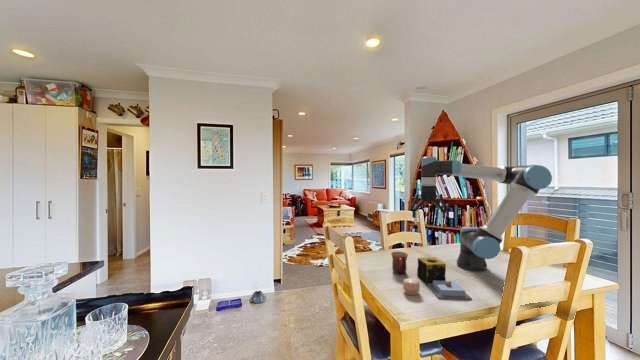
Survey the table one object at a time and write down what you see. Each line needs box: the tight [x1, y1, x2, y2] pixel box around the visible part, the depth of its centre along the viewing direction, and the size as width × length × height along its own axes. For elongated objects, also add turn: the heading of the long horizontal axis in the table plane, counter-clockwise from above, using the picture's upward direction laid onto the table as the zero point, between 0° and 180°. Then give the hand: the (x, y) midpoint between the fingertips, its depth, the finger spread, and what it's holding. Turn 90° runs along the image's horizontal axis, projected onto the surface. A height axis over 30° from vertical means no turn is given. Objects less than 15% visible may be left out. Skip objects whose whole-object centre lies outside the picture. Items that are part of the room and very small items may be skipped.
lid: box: [433, 280, 466, 296], centre depth 115 cm, size 10×10×4 cm
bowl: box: [402, 277, 421, 296], centre depth 114 cm, size 7×7×5 cm
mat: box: [426, 283, 473, 301], centre depth 115 cm, size 14×14×1 cm
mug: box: [390, 251, 409, 275], centre depth 136 cm, size 12×9×10 cm
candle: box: [416, 257, 447, 285], centre depth 128 cm, size 10×10×10 cm
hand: (428, 223), depth 137 cm, fingers open, 13 cm apart
